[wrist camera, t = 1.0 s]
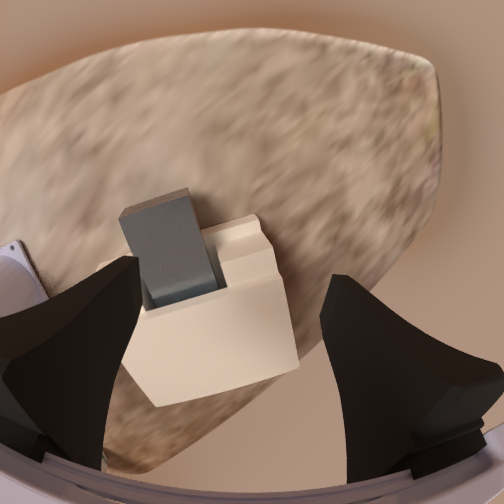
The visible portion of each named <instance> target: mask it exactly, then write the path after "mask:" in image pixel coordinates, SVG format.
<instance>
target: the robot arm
mask: <svg viewBox="0 0 504 504" xmlns="http://www.w3.org/2000/svg"><path fill="white" fill-rule="evenodd" d="M12 246H14V249H13V247H12ZM142 303H143V297H142V288H141V278H140V266H139V257H135V256H126V255H123V256H121V257H119V258H118V259H116V260H114V261H113V262H111V263H109V264H108V265H106V266H105V267H103V268H102V269H100V270H99V271H97V272H95V273H94V274H92V275H91V276H89V277H88V278H86V279H84V280H83V281H81V282H79V283H78V284H76V285H74V286H73V287H71V288H69V289H68V290H66V291H64V292H62V293H60V294H58V295H56V296H54V297H52V298H50V299H49V298H48V296H47V294H46V292H45V291H44V289H43V287H42V285H41V283H40V281H39V280H38V278H37V276H36V274H35V272H34V270H33V268H32V266H31V264H30V262H29V260H28V258H27V256H26V254H25V252H24V249H23V247H22V245H21V243H20V241H18V240H14V241H12V242H11V243H9V244H7V245H5V246H3V247H1V248H0V504H119V503H116V502H113V501H110V500H108V499H111V500H114V501H118V502H122V503H126V504H486V503H488V502H489V501H490V500H492V499H493V498H494V497H496V496H497V495H498V494H499V493H501V492H502V491H503V490H504V422H503V423H502V424H500V425H498V426H496V427H494V428H492V429H490V430H489V431H487V432H486V433H484V434H482V432H481V430H480V428H482V427H483V426H484V422H483V420H482V418H481V417H482V416H483V415H484V414H485V413H486V412H487V411H488V410H489V409H490V408H491V407H492V406H493V404H494V403H495V402H496V401H497V400H498V398H499V397H500V396H501V395H502V394H503V392H504V372H503V370H502V368H501V367H500V366H499V365H498V364H497V363H494V362H491V361H487V360H484V359H481V358H478V357H474V356H472V355H469V354H467V353H464V352H462V351H459V350H457V349H455V348H453V347H451V346H448V345H446V344H444V343H442V342H441V341H438V340H437V339H435V338H433V337H431V336H429V335H428V334H426V333H424V332H423V331H421V330H420V329H418V328H416V327H415V326H413V325H412V324H410V323H409V322H407V321H406V320H404V319H403V318H402V317H400V316H399V315H397V314H396V313H395V312H394V311H392V310H391V309H389V308H388V307H387V306H386V305H385V304H383V303H382V302H381V301H380V300H378V299H377V298H376V297H375V296H374V295H372V294H371V293H370V292H369V291H367V290H366V289H365V288H364V287H363V286H361V285H360V284H359V283H357V282H356V281H355V280H353V279H352V278H351V277H349V276H347V275H337V274H332V278H331V281H330V284H329V288H328V291H327V294H326V297H325V300H324V304H323V307H322V310H321V313H320V316H319V317H320V323H321V330H322V335H323V340H324V343H325V346H326V349H327V353H328V356H329V359H330V362H331V366H332V369H333V372H334V375H335V378H336V382H337V385H338V389H339V393H340V399H341V405H342V412H343V419H344V427H345V438H346V452H347V484H345V485H339V486H333V487H327V488H319V489H311V490H301V491H289V492H269V493H232V492H231V493H230V492H214V491H200V490H191V489H183V488H175V487H169V486H162V485H157V484H151V483H146V482H141V481H136V480H132V479H128V478H123V477H119V476H115V475H112V474H108V473H105V472H101V465H102V451H103V440H104V433H105V425H106V419H107V413H108V408H109V403H110V398H111V394H112V390H113V386H114V381H115V378H116V375H117V372H118V369H119V366H120V364H121V361H122V359H123V356H124V354H125V351H126V349H127V346H128V344H129V342H130V339H131V337H132V334H133V332H134V330H135V327H136V325H137V322H138V318H139V315H140V311H141V307H142ZM100 496H101V497H100ZM102 497H104V498H102ZM105 498H108V499H105Z"/></svg>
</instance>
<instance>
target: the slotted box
mask: <svg viewBox="0 0 504 504" xmlns="http://www.w3.org/2000/svg"><path fill="white" fill-rule="evenodd" d="M201 231H202V235H203V238H204V241H205V244H206V247H207V250H208V253H209V256H210V259H211V262H212V265H213V268H214V271H215V274H216V277H217V280H218V283H219V286H220V290H217V291H214V292H211V293H207V294H204V295H201V296H197V297H194V298H191V299H187V300H184V301H181V302H177V303H174V304H171V305H167V306H164V307H160V308H157V307H156V305H155V302H154V300H153V298H152V296H151V294H150V292H149V290H148V288H147V286H146V283H145V281H144V279H143V277H142V275H141V273H140V278H141V288H142V297H143V303H142V307H141V311H140V315H139V318H138V322H137V325H136V327H135V330H134V332H133V334H132V337H131V339H130V342H129V344H128V346H127V349H126V351H125V354H124V356H123V359H122V361H121V362H122V364H123V365H124V367H125V368H126V369H127V371H128V372H129V374H130V375H131V376H132V378H133V379H134V380H135V382H136V383H137V384H138V385H139V387H140V388H141V389H142V391H143V392H144V393H145V394H146V396H147V397H148V398H149V399H150V401H151V402H152V403H153V404H154V405H155V407H160V406H165V405H170V404H175V403H180V402H184V401H188V400H193V399H197V398H201V397H205V396H209V395H213V394H217V393H221V392H224V391H228V390H232V389H235V388H239V387H242V386H245V385H249V384H252V383H255V382H259V381H262V380H265V379H268V378H271V377H274V376H277V375H280V374H283V373H286V372H289V371H292V370H294V369H297V368H299V367H300V366H299V361H298V355H297V350H296V345H295V340H294V334H293V329H292V324H291V319H290V314H289V309H288V304H287V299H286V294H285V289H284V284H283V279H282V277H281V275H280V274H279V272H278V268H277V264H276V259H275V254H274V250H273V247H272V245H271V244H270V242H269V241H268V239H267V238H266V237H265V235H264V234H263V232H262V231H261V227H260V223H259V219H258V218H257V217H256V215H255V214H252V215H248V216H245V217H242V218H238V219H235V220H232V221H228V222H225V223H222V224H218V225H215V226H212V227H208V228H205V229H202V230H201ZM125 255H126V256H133V254H132V252H131V253H128V254H125ZM122 256H123V255H122ZM119 257H121V256H119ZM119 257H116V258H113V259H110V260H107V261H104V262H101V263H100V264H99V266H98V268H97V269H96V272H97V271H99V270H100V269H102V268H103V267H105V266H106V265H108V264H109V263H111V262H113V261H114V260H116V259H118V258H119Z"/></svg>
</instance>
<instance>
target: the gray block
mask: <svg viewBox="0 0 504 504" xmlns="http://www.w3.org/2000/svg"><path fill="white" fill-rule="evenodd" d="M118 220H119V222H120V225H121V227H122V230H123V233H124V235H125V237H126V240H127V242H128V245H129V247H130V250H131V252H132V254H133V256H135V257H139V266H140V273H141V275H142V277H143V279H144V281H145V283H146V286H147V288H148V290H149V292H150V294H151V296H152V298H153V300H154V302H155V305H156V307H157V308H160V307H164V306H167V305H171V304H174V303H177V302H181V301H184V300H187V299H191V298H194V297H197V296H201V295H204V294H207V293H211V292H214V291H217V290H220V286H219V283H218V280H217V277H216V274H215V271H214V268H213V265H212V262H211V259H210V256H209V253H208V250H207V247H206V244H205V241H204V238H203V235H202V231H201V228H200V225H199V222H198V219H197V216H196V212H195V209H194V206H193V203H192V199H191V196H190V193H189V190H188V187H187V188H184V189H181V190H178V191H175V192H172V193H169V194H166V195H163V196H160V197H157V198H154V199H151V200H148V201H145V202H142V203H139V204H136V205H134V206H131V207H128V208H125V209H124V211H123V212H122V214H121V215H120V217H119V218H118Z"/></svg>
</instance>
